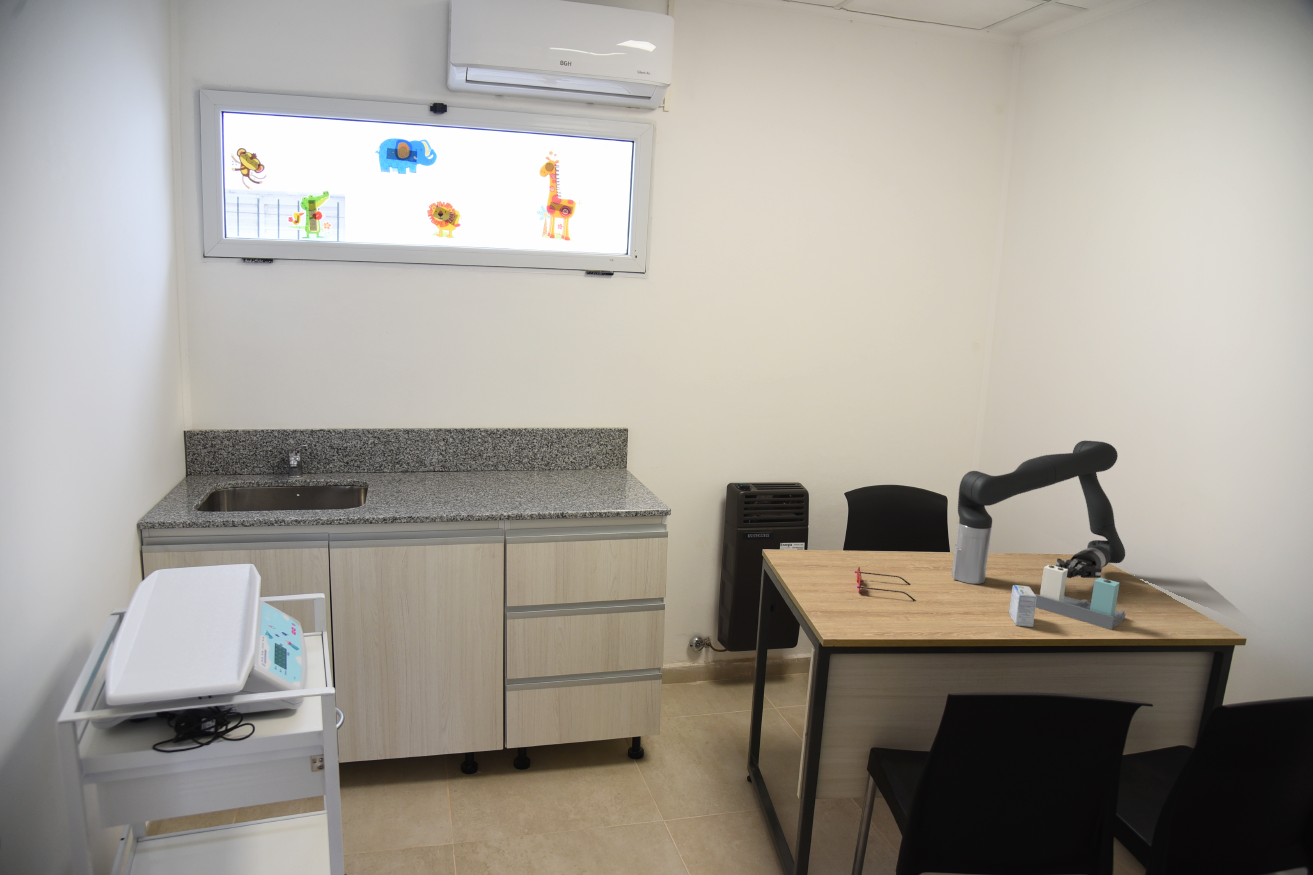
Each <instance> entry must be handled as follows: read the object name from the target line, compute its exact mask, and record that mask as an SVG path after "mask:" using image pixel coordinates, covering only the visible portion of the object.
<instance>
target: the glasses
mask: <svg viewBox="0 0 1313 875" xmlns="http://www.w3.org/2000/svg"><path fill="white" fill-rule="evenodd" d="M854 574H856V582H857V584H858V585H857V586H856V588H857V589H858V594H860V592H861V589H864V590H866V589H867V590H874V591H883V592H893V593H900V594H904V595H906V596H908V597H909V598H910V599H911V601H913V602H917V600H916V599H915V598H914V597H912V596H911V595H910V594H908V593H907V592H905V591H900V590H892V589H885V588H883V589H882V588H875V587H866V586H862V585H863V581H862V574H863V575H875V576H884V577H890V578H891V577H892V578H893V577H894V578H899V580H902V581H903V582H904V583H906V584H907V585H908V586H911V584H912V583H910V582H908V581H907V580H906V579H904V578H903V577H901V576H898V575H892V574H891V575H890V574H883V573H882V574H881V573H875V572H874V573H873V572H865V571H864V572H863V571H861V567H860V566H859V567H858V568H857V570H854Z"/></svg>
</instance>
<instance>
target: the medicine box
mask: <svg viewBox="0 0 1313 875" xmlns="http://www.w3.org/2000/svg"><path fill="white" fill-rule="evenodd" d="M1035 594H1036V593H1035V592H1034V591H1033V590H1032V588H1031V587H1030V586H1027V585H1017V584H1014V585H1012V588H1011V595H1010V604H1009V610H1008V611H1009V612H1008V614H1009V616H1010V617H1011V619H1012V622H1014V624H1015V626H1017V627H1019V626H1020V627H1025V628H1026V627H1027V628H1033V627H1034V620H1035V615H1036V599H1037V597H1036V595H1035Z"/></svg>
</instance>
